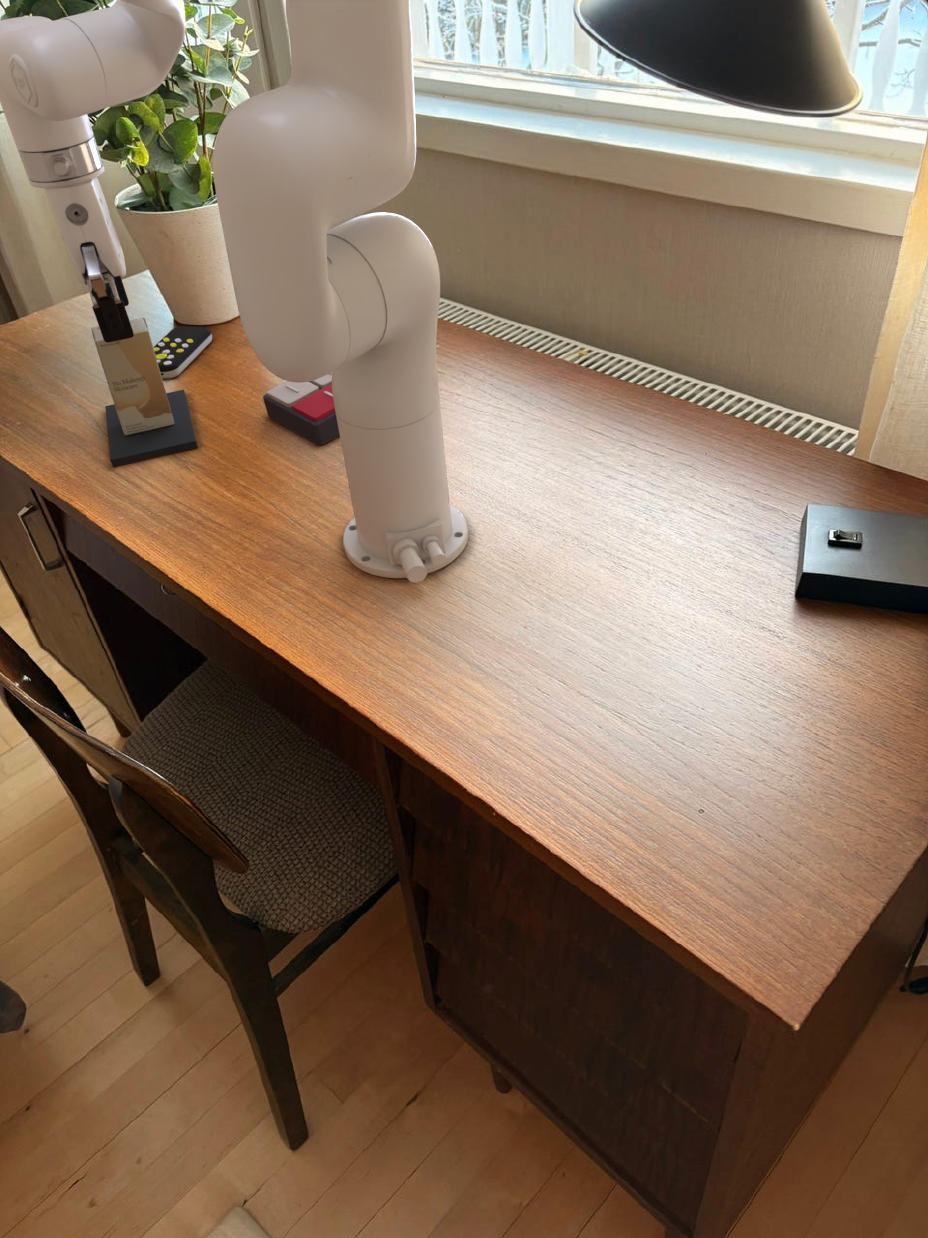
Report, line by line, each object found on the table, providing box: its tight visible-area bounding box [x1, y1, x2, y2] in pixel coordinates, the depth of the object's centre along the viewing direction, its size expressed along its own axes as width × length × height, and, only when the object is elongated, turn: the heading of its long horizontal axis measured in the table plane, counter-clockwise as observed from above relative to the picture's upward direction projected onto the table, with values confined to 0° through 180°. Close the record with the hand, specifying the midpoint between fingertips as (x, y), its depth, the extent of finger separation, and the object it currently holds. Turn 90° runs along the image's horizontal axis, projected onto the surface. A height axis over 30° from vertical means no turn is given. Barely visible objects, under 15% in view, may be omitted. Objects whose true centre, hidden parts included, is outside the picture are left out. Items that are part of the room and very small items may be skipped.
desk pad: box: [104, 389, 199, 468], centre depth 116 cm, size 14×10×1 cm
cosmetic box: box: [90, 317, 174, 435], centre depth 112 cm, size 6×4×12 cm
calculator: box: [262, 372, 340, 447], centre depth 116 cm, size 11×4×15 cm
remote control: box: [153, 326, 213, 380], centre depth 130 cm, size 6×13×2 cm, turn 166°
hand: (117, 322), depth 107 cm, fingers open, 9 cm apart
